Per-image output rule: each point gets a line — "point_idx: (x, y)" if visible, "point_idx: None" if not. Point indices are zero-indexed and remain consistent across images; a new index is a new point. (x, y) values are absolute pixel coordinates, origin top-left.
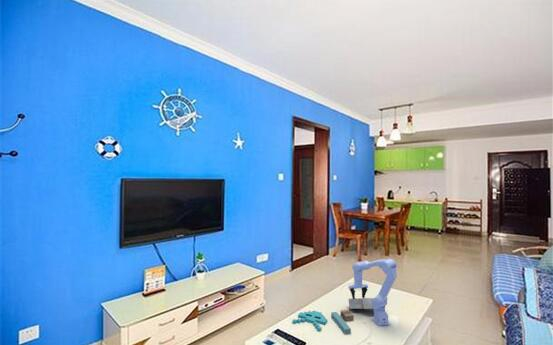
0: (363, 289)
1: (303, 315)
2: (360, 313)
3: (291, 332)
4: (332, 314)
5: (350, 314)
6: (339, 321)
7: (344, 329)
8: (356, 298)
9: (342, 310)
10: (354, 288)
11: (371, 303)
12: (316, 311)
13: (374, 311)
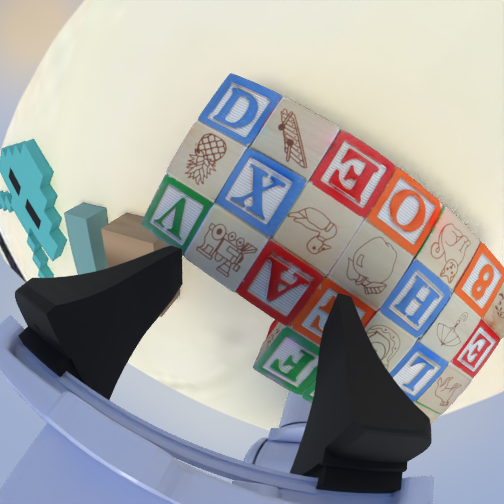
0: (306, 457)
1: (6, 179)
2: None
3: (8, 242)
4: (69, 229)
5: None
6: None
7: None
8: (320, 151)
9: (111, 234)
10: (88, 395)
11: None
12: (30, 157)
13: (283, 411)
